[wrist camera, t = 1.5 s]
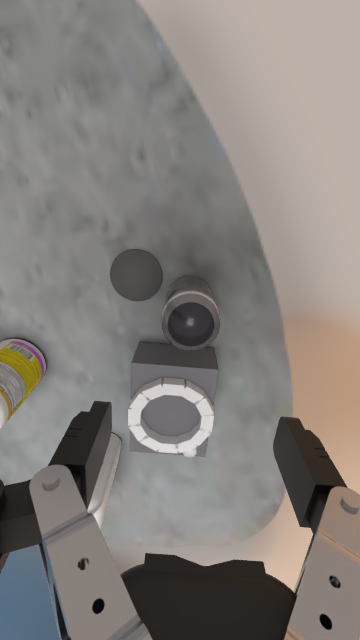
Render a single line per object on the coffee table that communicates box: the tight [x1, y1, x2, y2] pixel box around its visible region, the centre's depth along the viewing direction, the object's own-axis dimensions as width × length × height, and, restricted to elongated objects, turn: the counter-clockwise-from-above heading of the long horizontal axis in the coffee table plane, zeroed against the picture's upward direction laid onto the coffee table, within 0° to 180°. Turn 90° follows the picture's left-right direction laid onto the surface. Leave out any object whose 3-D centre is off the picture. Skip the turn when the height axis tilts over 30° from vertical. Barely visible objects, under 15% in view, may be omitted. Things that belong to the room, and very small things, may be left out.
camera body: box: [128, 342, 218, 457], centre depth 34 cm, size 9×12×6 cm
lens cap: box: [110, 249, 162, 301], centre depth 31 cm, size 6×6×1 cm
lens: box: [162, 276, 220, 350], centre depth 28 cm, size 5×5×8 cm
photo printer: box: [87, 433, 121, 530], centre depth 35 cm, size 10×4×12 cm, turn 165°
